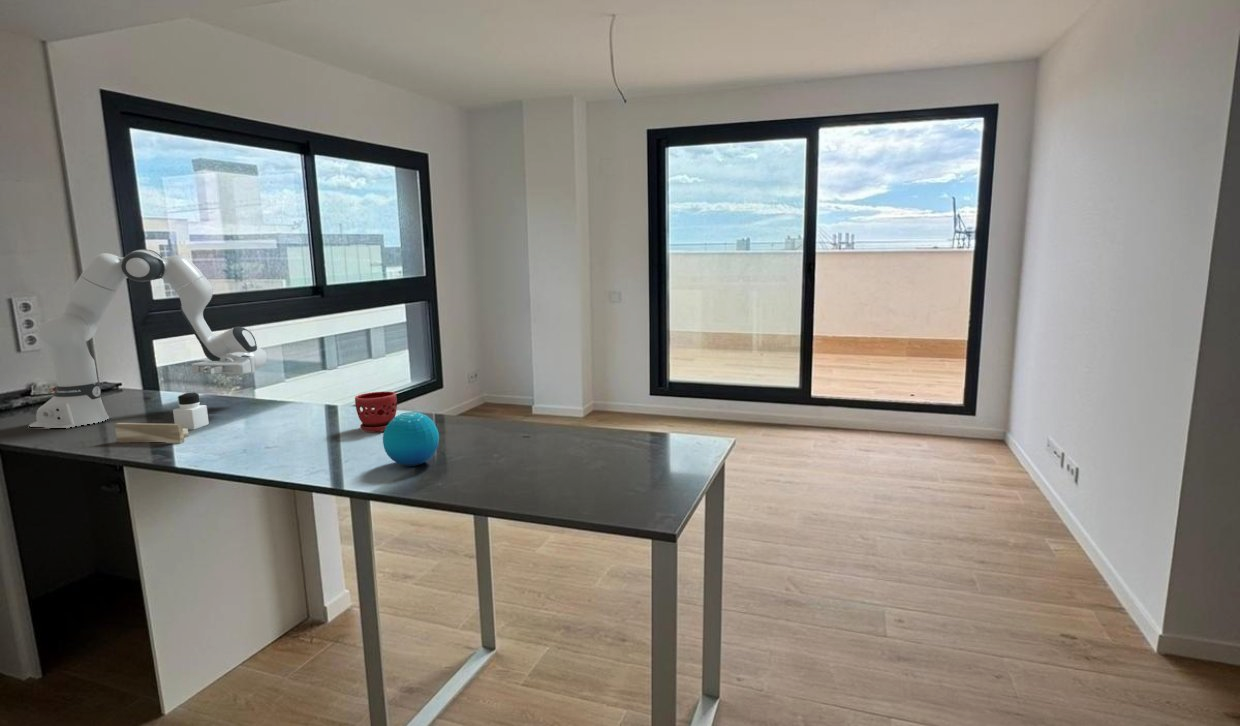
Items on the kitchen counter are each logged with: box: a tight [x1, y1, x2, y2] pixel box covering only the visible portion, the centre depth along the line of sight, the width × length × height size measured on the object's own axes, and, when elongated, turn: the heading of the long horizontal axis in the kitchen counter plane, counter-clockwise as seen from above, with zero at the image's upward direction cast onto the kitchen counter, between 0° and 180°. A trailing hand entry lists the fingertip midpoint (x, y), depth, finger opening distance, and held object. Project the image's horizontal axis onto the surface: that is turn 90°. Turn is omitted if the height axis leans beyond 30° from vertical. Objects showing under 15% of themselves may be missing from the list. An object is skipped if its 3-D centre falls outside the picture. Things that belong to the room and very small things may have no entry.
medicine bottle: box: [172, 392, 210, 431], centre depth 221 cm, size 7×7×12 cm
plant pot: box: [354, 391, 398, 433], centre depth 216 cm, size 13×13×12 cm
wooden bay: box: [113, 422, 190, 444], centre depth 208 cm, size 8×22×6 cm, turn 84°
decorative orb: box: [382, 411, 440, 467], centre depth 178 cm, size 15×15×15 cm
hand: (206, 371), depth 228 cm, fingers closed
